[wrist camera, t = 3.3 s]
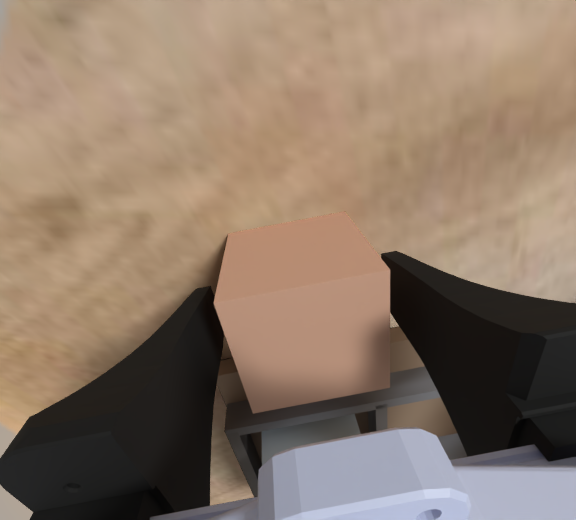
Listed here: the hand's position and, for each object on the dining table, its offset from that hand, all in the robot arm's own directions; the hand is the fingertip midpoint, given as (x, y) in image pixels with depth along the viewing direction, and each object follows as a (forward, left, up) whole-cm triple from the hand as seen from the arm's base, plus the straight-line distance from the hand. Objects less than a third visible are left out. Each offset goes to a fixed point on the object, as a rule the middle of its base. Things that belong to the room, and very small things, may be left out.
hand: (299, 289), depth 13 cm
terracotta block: (0, 0, -2) cm, 2 cm away
